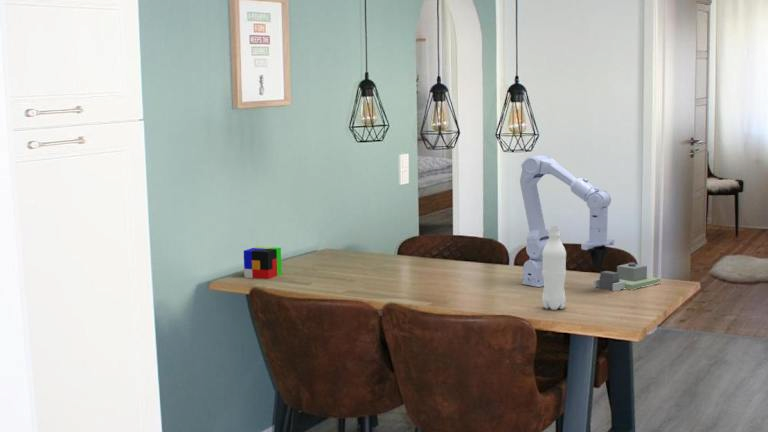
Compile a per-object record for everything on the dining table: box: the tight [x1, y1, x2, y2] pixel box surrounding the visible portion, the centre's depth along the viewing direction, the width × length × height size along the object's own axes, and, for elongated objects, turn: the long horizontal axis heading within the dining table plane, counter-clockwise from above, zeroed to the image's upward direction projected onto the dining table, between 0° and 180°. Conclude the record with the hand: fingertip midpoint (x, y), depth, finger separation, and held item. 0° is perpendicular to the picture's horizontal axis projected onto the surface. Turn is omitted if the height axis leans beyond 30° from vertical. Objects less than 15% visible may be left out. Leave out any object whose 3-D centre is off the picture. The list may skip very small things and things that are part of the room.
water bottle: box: [541, 225, 567, 311], centre depth 290 cm, size 7×7×25 cm
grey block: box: [599, 270, 619, 291], centre depth 318 cm, size 4×5×6 cm
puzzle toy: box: [243, 246, 283, 280], centre depth 352 cm, size 10×10×10 cm
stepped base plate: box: [593, 261, 661, 292], centre depth 323 cm, size 21×13×7 cm, turn 129°
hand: (597, 269), depth 314 cm, fingers closed
